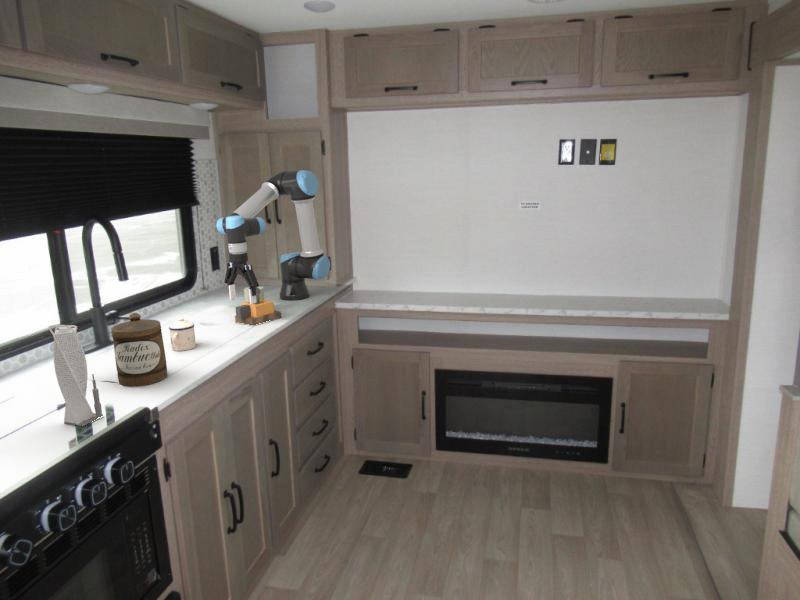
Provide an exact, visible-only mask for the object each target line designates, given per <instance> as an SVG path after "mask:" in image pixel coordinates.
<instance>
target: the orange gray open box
mask: <svg viewBox="0 0 800 600" xmlns="http://www.w3.org/2000/svg"><path fill="white" fill-rule="evenodd" d="M274 306H275V304H274V301H273V300H271V301H270V300H265V299H264V300H261V299H260V304H257V305H255V304H254V303H253V304H250V301H249V302H245V301H244V302H241V303H240V305H239V306H235V315H236V318H238V319H244V318H247V317H251V316H252V317H260V316H263V315H267V314H271V313H274V310H275V307H274Z"/></svg>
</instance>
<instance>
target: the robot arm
mask: <svg viewBox="0 0 800 600" xmlns="http://www.w3.org/2000/svg"><path fill="white" fill-rule="evenodd" d="M318 189H319V181H318V178H317V176H316V175H315V173H313V171H310V170H304V169H299V170H295V169H294V170H282V171H279V172H277V173H275V174H274V175H272V176H270V177H269V178H268V179H266V181H264V182H263V183H262V184H261V187H260V188H259V189H258V190H257V191H256V192H255V193H253V194H252V195H251V196H250V197H249V198H248V199H247V200H246V201H244V202H243V203H242V204H241V205H240V206H238V207H237V209H235V210H234V211H233V212H232V213H230V215H228V216H226V217H225V216H224V217H220V218H219V219H218V220H217V221H216V230H217V232H218V233H219V234H221V235H226V238H227V245H228V252H229V254H228V255H229V262H227V263H226V267H227V268H226V271H225V276H224V284H226V285H227V286H228V293H229V301H234V300H237V293H236V285H235V281H236V278H237V277H238V275H240V276H242V277H243V279H244V281H246V285H248V287H250V288H249V296H250V304H253V303H256V287H259V286H260V284H259V282H258V280H257V277H256V274H255V272H254V270H253V265H252V264H247V262H248V261H249V257H248V245H247V237H252V236H258V235H262V234H263V233H264V232H265V231H266V221H265V220H264V219H263V218H262V217H259V216H258V217H255V216H257V214H259V213H260V212H261V211H262V210H263V209H264V208H266V206H267V205H269V204H270V203H271V202H272V201H275V200H277V199H278V198H280V197H282V196H283V197H284V196H289V197H290V201H291V202H292V203H294V208H295V212H296V219H297V224H298V230H299V231H298V232H299V238H300V243H301V249H302V250H301V251H296V252H291V253H290V252H289V253H285V254H282V255H281V256H280V258H279V259H280V261H279V263H280V264H279V265H280V272H281V273H280V274H281V287H280V290H279V291H280V292H279V299H280V300H284V301H297V300H298V301H299V300H304V299H307V298H310V292H309V291H310V290H309V289H308V286H307V284H306V279H309V280H323V279H325V278H326V277H327V276H328V274H329V272H330V269H331V261H330V259H329V257H327V256H326V255H325V254H324V250H323V249H321V247H320V241H319V235H318V228H317V222H316V215H315V210H314V203H313V202H314V200H315V198H316V194H317V193H318V191H319V190H318Z"/></svg>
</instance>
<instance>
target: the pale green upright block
mask: <svg viewBox="0 0 800 600" xmlns="http://www.w3.org/2000/svg"><path fill="white" fill-rule="evenodd" d="M249 288H250V287H249V286H248V287H244V288H243V294H244V295H243V296H244V303H245V302H249V301H250V296H249ZM257 288H259V289H260V294H259V297H260V299H261V300H265V290H264V286H260V285H259V287H257Z"/></svg>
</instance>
